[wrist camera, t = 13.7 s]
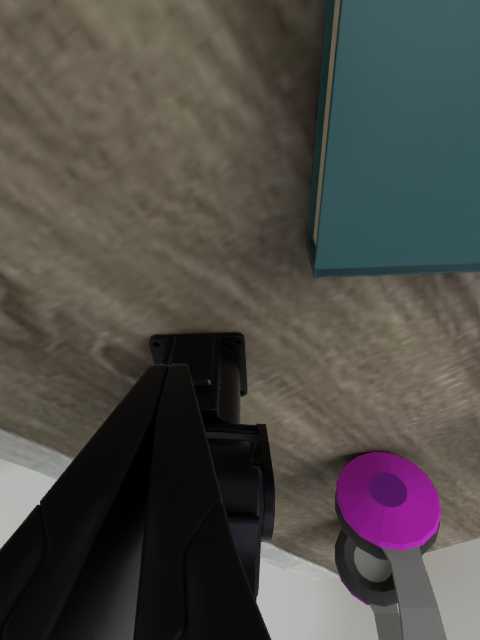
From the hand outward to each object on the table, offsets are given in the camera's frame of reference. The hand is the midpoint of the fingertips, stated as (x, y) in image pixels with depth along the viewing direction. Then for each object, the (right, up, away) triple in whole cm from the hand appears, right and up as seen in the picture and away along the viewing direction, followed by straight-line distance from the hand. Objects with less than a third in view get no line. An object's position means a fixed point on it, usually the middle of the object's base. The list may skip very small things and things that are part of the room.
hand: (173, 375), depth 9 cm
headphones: (+16, -18, +33) cm, 41 cm away
